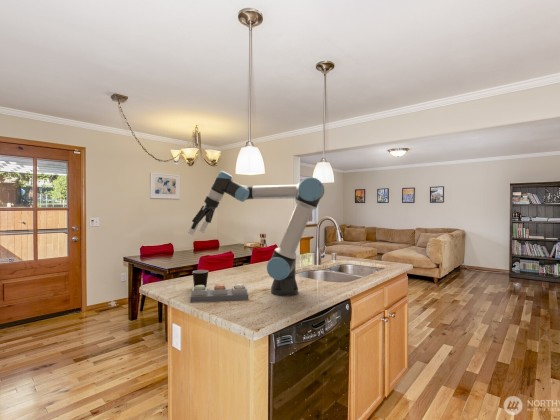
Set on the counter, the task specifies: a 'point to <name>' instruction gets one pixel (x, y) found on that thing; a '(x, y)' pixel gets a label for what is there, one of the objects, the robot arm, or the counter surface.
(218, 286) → the button terracotta
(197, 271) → the coffee mug
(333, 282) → the counter surface
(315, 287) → the counter surface
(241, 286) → the button cream
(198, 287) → the button sage
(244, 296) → the button panel
